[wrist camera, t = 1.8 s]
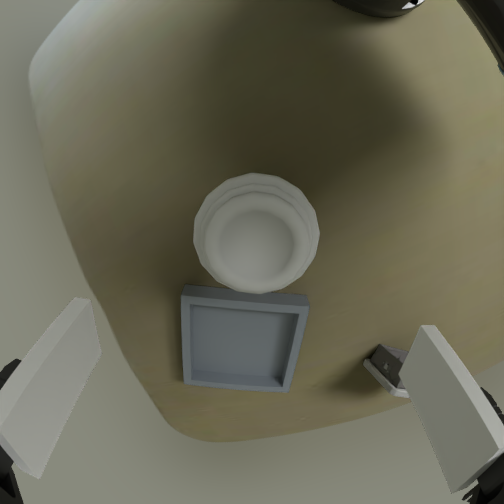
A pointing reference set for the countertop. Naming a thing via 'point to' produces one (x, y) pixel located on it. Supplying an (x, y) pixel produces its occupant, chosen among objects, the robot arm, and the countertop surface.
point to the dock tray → (241, 338)
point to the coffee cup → (256, 233)
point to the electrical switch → (388, 369)
